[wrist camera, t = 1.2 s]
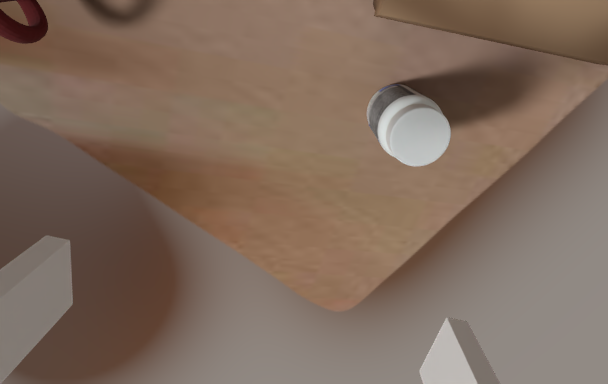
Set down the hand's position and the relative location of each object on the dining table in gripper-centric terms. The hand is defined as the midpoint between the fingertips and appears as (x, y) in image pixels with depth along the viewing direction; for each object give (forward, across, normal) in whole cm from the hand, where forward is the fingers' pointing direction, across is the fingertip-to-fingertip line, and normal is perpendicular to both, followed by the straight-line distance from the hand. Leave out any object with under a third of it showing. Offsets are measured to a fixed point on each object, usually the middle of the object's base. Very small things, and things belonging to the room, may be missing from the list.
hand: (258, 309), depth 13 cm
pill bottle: (+22, +8, +5) cm, 24 cm away
